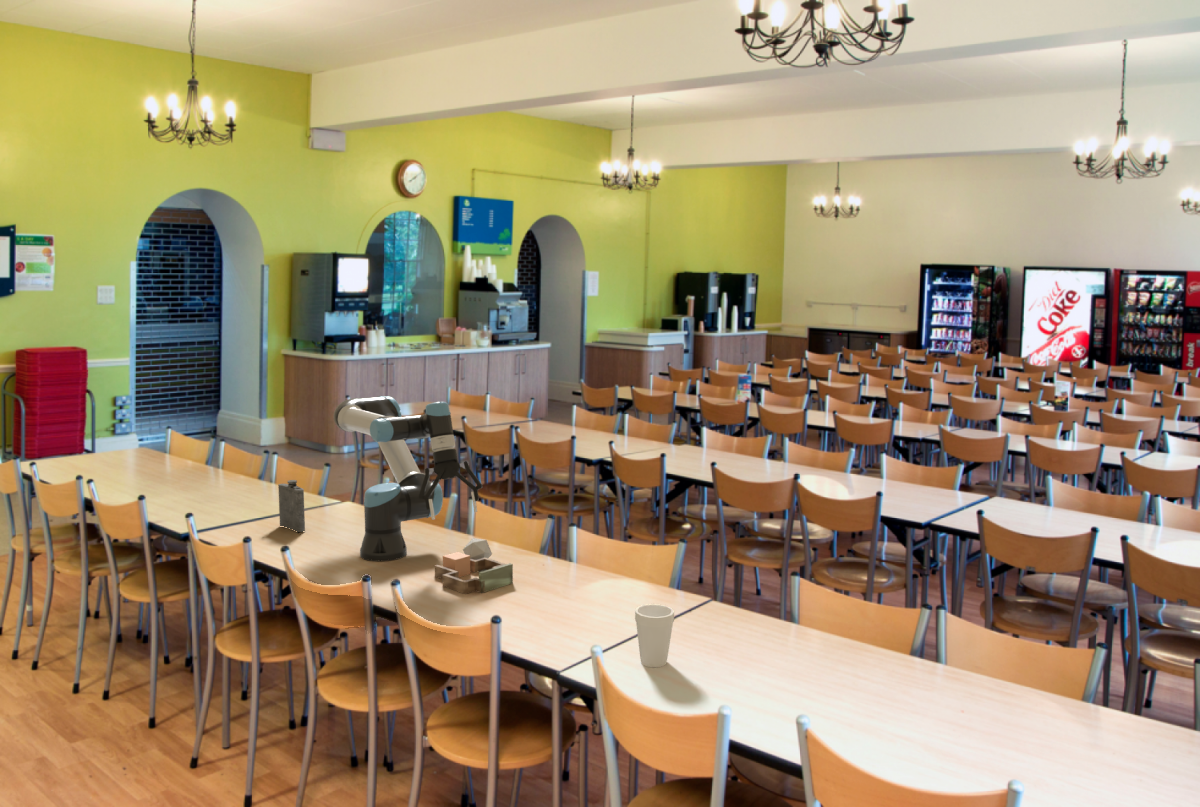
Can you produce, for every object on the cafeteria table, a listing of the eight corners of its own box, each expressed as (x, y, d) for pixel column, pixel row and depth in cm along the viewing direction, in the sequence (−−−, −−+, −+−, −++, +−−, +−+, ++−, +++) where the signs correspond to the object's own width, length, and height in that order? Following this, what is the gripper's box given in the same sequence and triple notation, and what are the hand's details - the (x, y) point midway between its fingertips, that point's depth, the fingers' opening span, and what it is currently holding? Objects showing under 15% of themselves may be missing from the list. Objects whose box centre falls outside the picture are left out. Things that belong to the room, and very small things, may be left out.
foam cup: (632, 654, 235) (633, 604, 233) (669, 653, 236) (670, 603, 234) (637, 670, 226) (638, 618, 224) (675, 669, 226) (676, 617, 225)
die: (496, 563, 309) (487, 536, 313) (491, 557, 301) (482, 530, 305) (472, 572, 309) (464, 545, 312) (467, 567, 301) (458, 539, 304)
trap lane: (424, 579, 290) (424, 560, 289) (475, 564, 305) (475, 546, 304) (471, 596, 276) (471, 576, 275) (522, 580, 291) (522, 561, 290)
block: (442, 574, 296) (442, 555, 295) (457, 570, 300) (457, 551, 299) (455, 578, 292) (455, 559, 291) (470, 574, 296) (470, 555, 295)
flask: (287, 524, 351) (285, 476, 348) (308, 531, 341) (307, 482, 339) (278, 526, 348) (276, 478, 346) (299, 533, 339) (297, 484, 336)
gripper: (403, 456, 299) (413, 522, 297) (481, 442, 300) (492, 508, 298) (407, 457, 306) (417, 522, 304) (483, 444, 308) (494, 508, 306)
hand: (454, 515), depth 301 cm, fingers open, 13 cm apart
